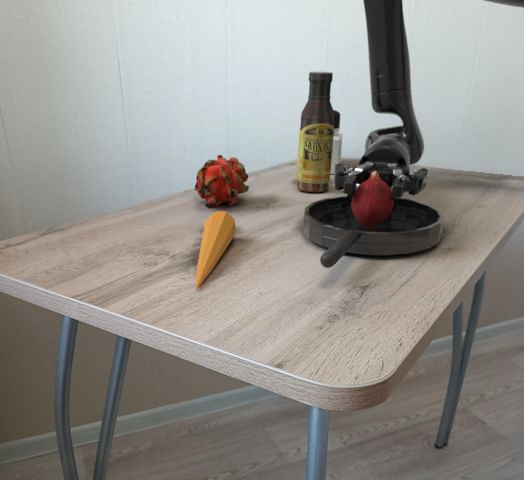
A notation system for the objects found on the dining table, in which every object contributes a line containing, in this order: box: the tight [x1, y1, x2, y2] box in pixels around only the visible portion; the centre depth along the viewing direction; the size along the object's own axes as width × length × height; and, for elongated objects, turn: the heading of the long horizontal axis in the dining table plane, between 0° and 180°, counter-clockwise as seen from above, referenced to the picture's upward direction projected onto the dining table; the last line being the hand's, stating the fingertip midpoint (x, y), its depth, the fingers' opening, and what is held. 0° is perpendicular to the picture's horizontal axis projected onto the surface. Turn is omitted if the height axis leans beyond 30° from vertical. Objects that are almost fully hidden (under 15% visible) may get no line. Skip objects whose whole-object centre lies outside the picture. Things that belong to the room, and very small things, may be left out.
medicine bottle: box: [330, 109, 343, 175], centre depth 116 cm, size 7×7×12 cm
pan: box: [302, 195, 445, 257], centre depth 78 cm, size 19×19×4 cm
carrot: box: [195, 210, 236, 290], centre depth 70 cm, size 20×4×4 cm, turn 175°
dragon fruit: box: [194, 154, 250, 208], centre depth 93 cm, size 8×8×12 cm
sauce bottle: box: [296, 71, 335, 193], centre depth 99 cm, size 7×6×20 cm
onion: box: [351, 171, 394, 229], centre depth 77 cm, size 6×6×8 cm
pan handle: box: [319, 230, 358, 269], centre depth 66 cm, size 11×2×2 cm, turn 155°
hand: (372, 191), depth 74 cm, fingers closed on onion, 5 cm apart
